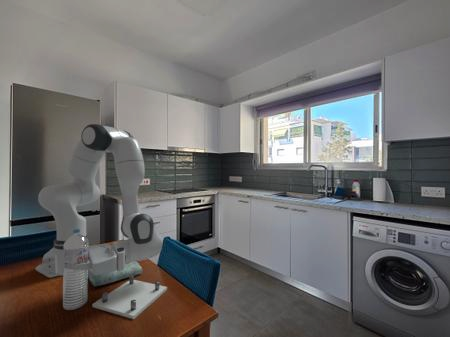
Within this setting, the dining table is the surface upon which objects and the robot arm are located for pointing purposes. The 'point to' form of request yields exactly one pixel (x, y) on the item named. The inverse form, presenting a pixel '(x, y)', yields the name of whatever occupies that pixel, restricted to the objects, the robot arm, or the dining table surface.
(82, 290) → the water bottle
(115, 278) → the towel
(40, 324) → the dining table surface
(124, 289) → the bottle stand
